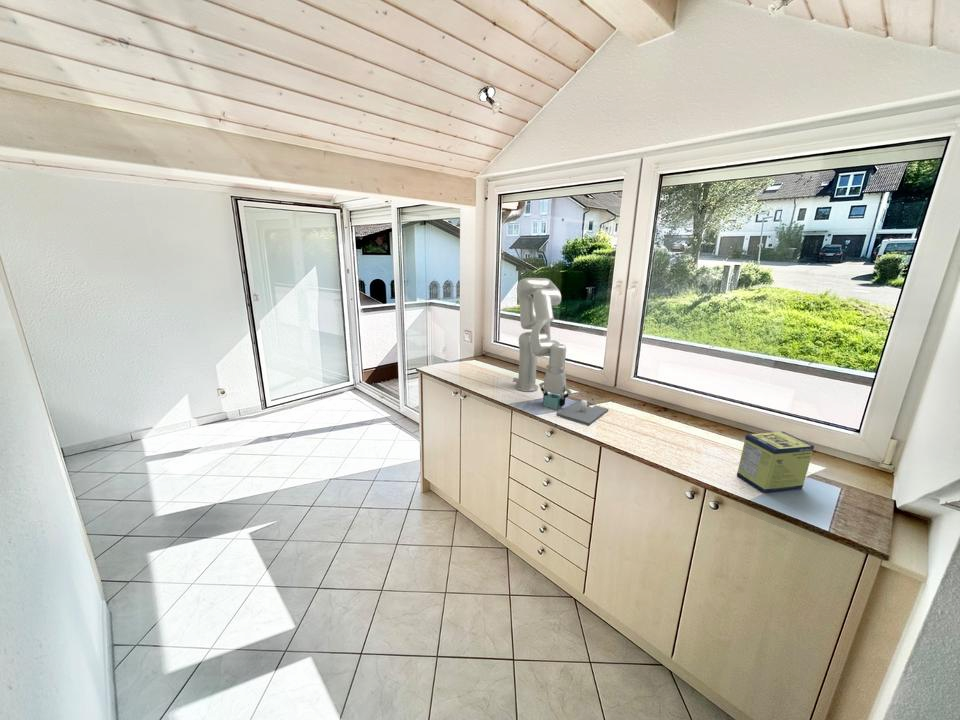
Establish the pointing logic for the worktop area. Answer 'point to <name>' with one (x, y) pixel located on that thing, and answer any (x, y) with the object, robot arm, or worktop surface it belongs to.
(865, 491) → the worktop surface
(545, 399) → the spool collar
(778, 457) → the protein box
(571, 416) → the board
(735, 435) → the worktop surface
